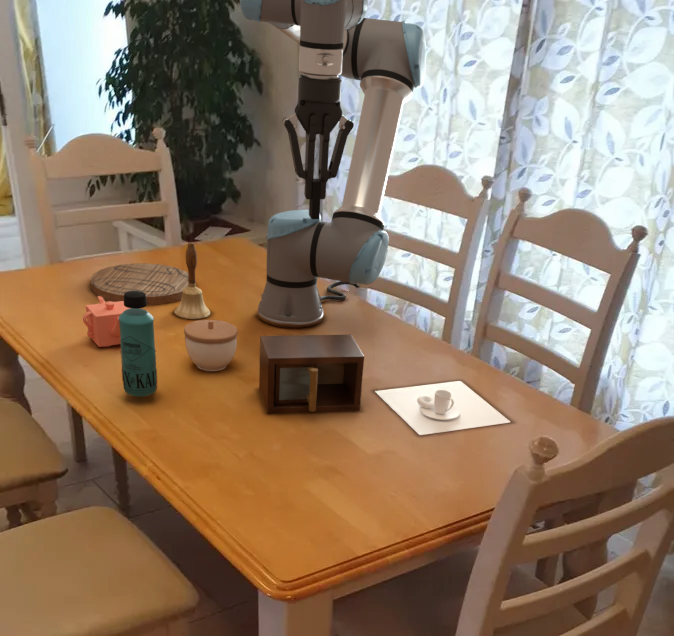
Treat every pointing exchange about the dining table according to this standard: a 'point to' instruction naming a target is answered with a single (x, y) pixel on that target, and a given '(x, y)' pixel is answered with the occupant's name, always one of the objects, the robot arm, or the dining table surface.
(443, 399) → the teacup and saucer
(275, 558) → the dining table surface
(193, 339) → the trinket box
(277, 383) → the door
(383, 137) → the robot arm
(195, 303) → the hand bell
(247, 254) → the dining table surface
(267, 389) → the cabinet
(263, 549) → the dining table surface
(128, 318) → the beverage bottle
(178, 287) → the trivet
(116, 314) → the teapot
